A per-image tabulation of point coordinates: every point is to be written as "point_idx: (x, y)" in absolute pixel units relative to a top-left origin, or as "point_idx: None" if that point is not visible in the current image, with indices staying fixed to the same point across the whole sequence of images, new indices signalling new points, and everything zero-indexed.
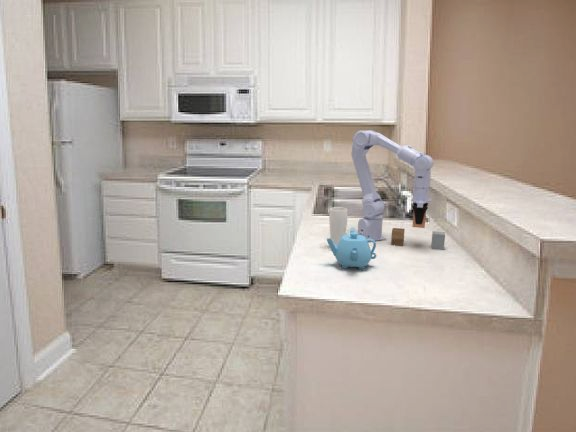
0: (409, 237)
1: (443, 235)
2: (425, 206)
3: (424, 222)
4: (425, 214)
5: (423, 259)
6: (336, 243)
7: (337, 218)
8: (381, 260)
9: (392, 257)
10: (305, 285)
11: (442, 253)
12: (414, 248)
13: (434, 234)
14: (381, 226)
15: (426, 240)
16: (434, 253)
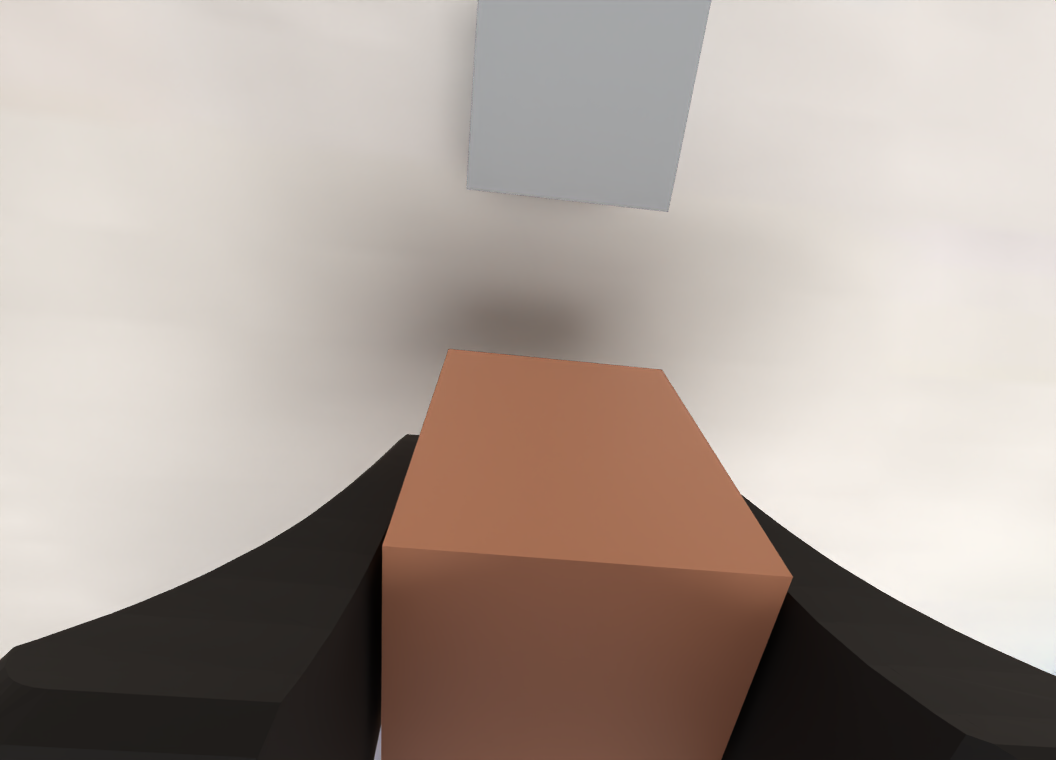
0: (200, 390)
1: (708, 6)
2: (321, 691)
3: (687, 428)
4: (760, 539)
5: (1002, 313)
6: None
7: None
8: (989, 613)
9: (921, 548)
10: None
11: (796, 70)
12: None
13: (671, 177)
14: (379, 748)
15: (250, 207)
16: (799, 173)
